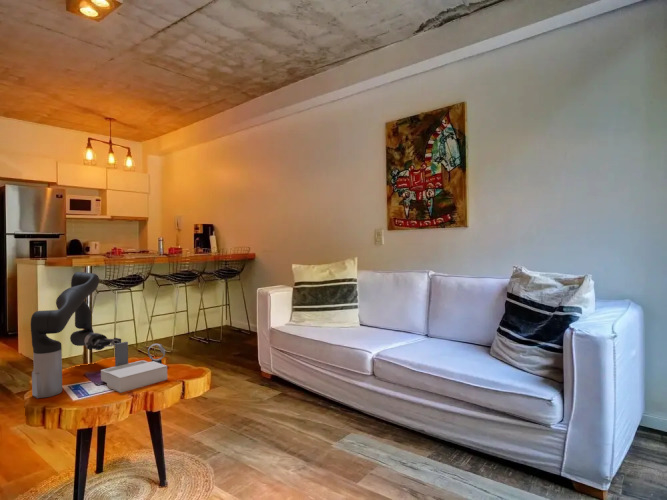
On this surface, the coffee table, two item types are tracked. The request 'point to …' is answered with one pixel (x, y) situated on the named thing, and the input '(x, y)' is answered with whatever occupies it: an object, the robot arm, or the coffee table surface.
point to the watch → (160, 350)
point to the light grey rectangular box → (136, 376)
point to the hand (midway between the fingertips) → (110, 345)
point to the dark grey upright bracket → (120, 360)
